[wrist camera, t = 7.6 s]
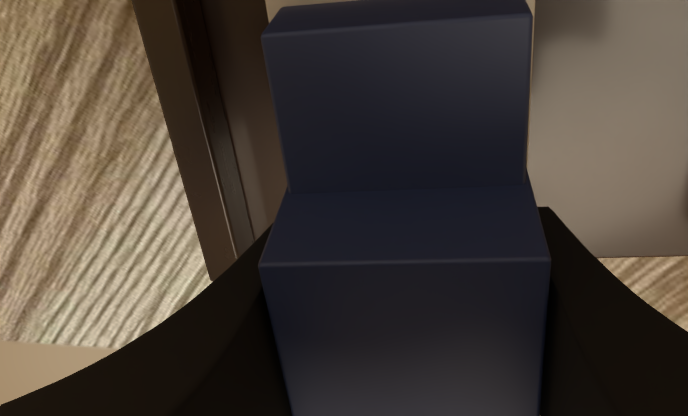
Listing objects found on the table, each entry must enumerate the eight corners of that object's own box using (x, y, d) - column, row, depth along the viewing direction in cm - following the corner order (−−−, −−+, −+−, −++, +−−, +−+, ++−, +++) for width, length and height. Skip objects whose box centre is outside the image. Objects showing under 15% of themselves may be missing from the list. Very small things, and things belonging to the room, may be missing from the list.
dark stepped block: (514, 290, 15) (545, 468, 11) (327, 293, 16) (293, 461, 12) (527, -42, 11) (582, 46, 7) (277, -19, 12) (199, 73, 8)
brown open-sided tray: (705, 215, 19) (786, 335, 14) (244, 229, 21) (197, 337, 16) (821, -305, 12) (1025, -362, 8) (143, -207, 14) (25, -212, 10)
